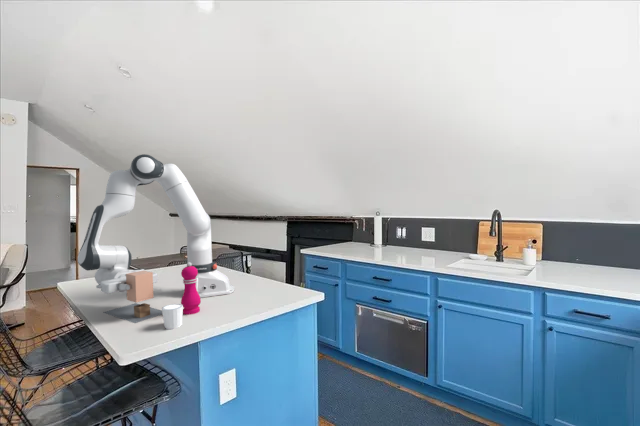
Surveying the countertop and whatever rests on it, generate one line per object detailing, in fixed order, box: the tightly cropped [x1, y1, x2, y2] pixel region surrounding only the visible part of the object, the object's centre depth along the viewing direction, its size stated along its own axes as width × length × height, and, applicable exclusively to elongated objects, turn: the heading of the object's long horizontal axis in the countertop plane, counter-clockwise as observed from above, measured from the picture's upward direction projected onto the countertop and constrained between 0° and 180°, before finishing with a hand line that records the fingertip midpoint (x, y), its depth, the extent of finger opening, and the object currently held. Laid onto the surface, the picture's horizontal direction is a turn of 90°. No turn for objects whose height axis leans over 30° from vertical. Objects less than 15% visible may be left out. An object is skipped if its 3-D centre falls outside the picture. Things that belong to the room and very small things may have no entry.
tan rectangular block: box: [126, 270, 154, 304], centre depth 128 cm, size 7×7×10 cm
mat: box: [103, 302, 163, 324], centre depth 133 cm, size 24×13×1 cm, turn 57°
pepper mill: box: [180, 261, 202, 316], centre depth 131 cm, size 7×7×20 cm
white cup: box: [161, 303, 184, 330], centre depth 118 cm, size 7×7×7 cm
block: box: [134, 302, 151, 318], centre depth 128 cm, size 4×4×4 cm
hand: (141, 284), depth 127 cm, fingers closed on tan rectangular block, 7 cm apart
